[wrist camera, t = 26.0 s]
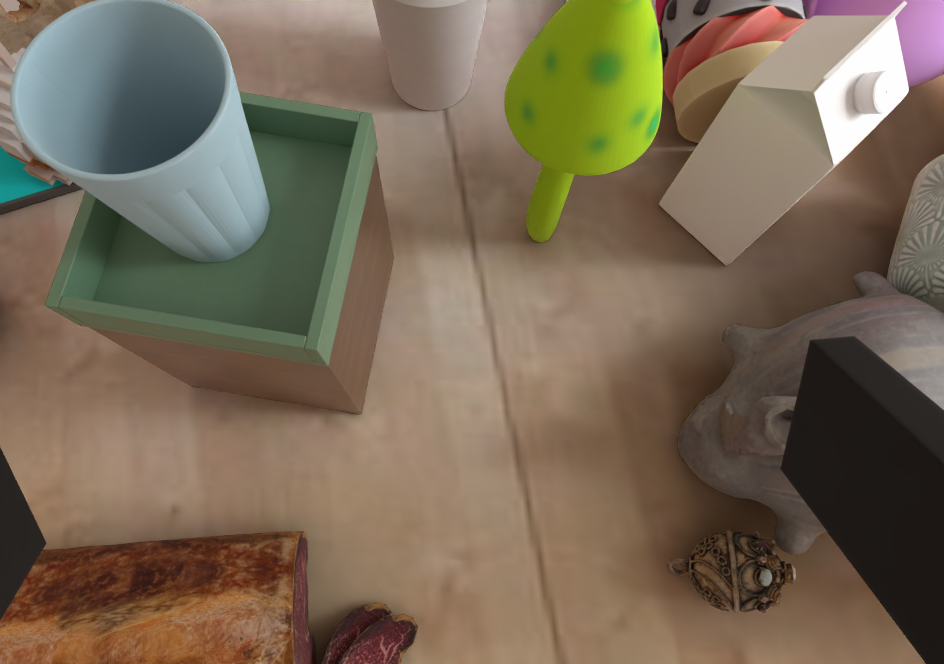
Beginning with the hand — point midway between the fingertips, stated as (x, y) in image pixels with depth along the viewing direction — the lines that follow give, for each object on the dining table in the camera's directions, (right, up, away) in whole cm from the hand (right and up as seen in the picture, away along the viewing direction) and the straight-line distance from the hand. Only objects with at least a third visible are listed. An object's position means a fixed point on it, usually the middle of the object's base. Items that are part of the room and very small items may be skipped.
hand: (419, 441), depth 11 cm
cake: (+21, +18, +38) cm, 47 cm away
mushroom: (+6, +9, +41) cm, 42 cm away
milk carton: (+20, +11, +42) cm, 48 cm away
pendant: (+18, -16, +33) cm, 41 cm away
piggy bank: (+24, -4, +37) cm, 45 cm away
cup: (-12, +8, +23) cm, 27 cm away
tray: (-11, +7, +23) cm, 27 cm away
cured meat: (-15, -20, +31) cm, 40 cm away
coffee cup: (-2, +23, +44) cm, 49 cm away
